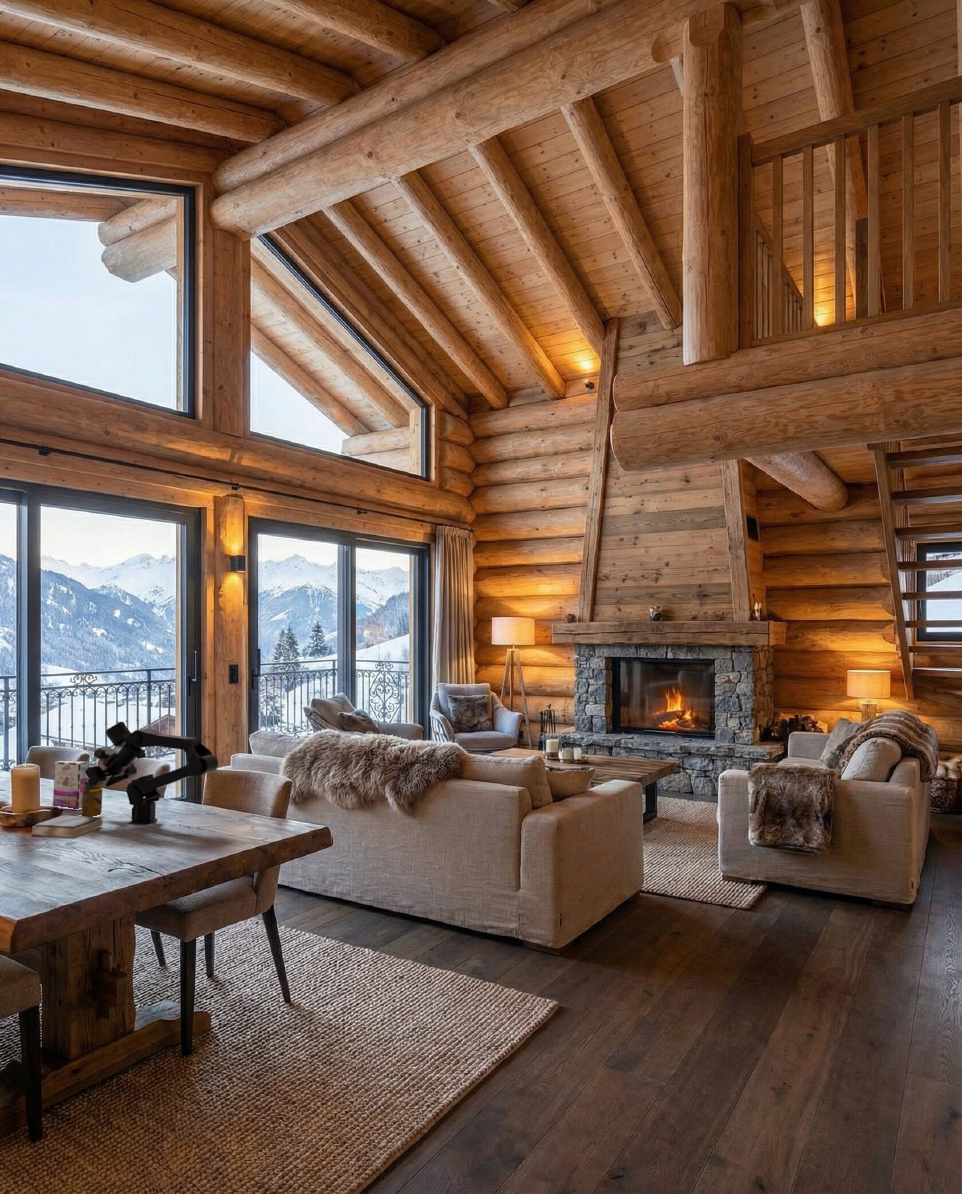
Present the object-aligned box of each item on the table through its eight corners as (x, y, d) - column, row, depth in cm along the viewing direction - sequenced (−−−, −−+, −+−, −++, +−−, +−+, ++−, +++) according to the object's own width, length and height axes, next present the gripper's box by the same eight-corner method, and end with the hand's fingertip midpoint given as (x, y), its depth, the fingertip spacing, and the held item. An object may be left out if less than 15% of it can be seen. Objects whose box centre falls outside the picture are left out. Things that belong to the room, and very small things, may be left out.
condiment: (105, 816, 275) (106, 781, 275) (78, 820, 269) (80, 783, 270) (97, 813, 280) (99, 778, 281) (71, 816, 274) (73, 780, 275)
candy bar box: (88, 808, 287) (90, 761, 288) (77, 811, 283) (79, 763, 283) (63, 805, 291) (64, 759, 291) (51, 808, 286) (53, 761, 287)
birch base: (102, 826, 261) (102, 817, 261) (73, 837, 247) (74, 827, 247) (62, 824, 263) (62, 814, 263) (32, 834, 249) (32, 824, 249)
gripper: (131, 736, 282) (103, 766, 285) (90, 742, 265) (62, 774, 267) (149, 760, 280) (121, 790, 282) (109, 768, 262) (80, 800, 265)
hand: (96, 788), depth 274 cm, fingers open, 9 cm apart
